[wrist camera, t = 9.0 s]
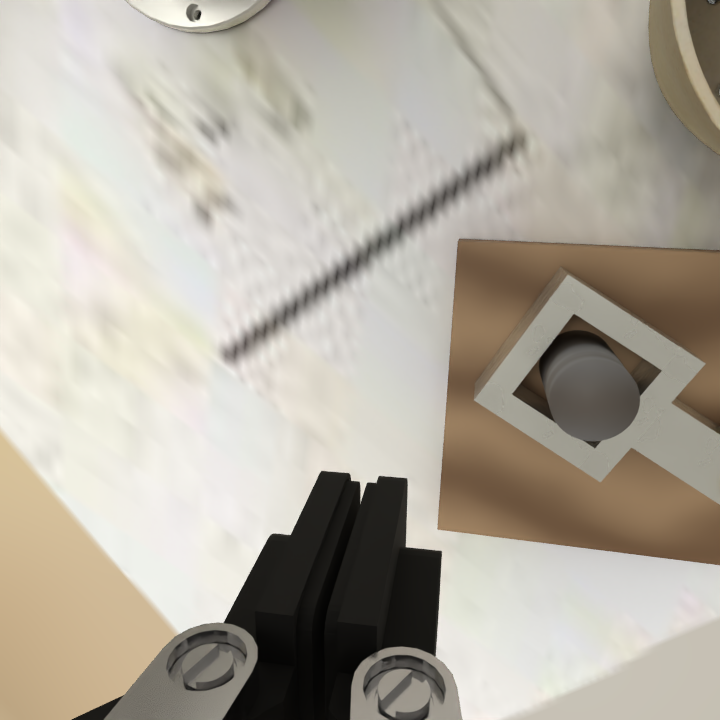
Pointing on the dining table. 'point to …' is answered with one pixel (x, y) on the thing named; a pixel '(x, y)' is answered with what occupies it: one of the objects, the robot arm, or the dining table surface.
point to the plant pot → (689, 63)
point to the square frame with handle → (652, 375)
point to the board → (531, 470)
